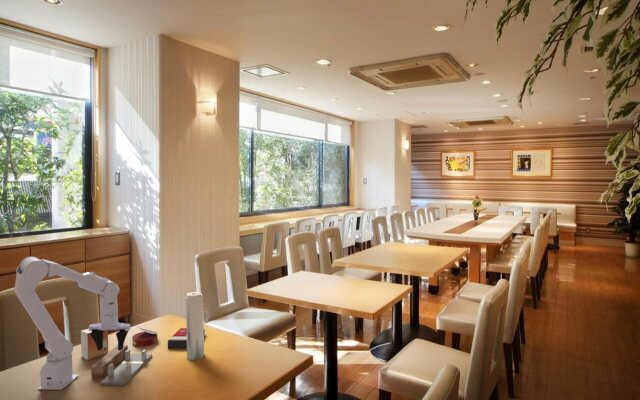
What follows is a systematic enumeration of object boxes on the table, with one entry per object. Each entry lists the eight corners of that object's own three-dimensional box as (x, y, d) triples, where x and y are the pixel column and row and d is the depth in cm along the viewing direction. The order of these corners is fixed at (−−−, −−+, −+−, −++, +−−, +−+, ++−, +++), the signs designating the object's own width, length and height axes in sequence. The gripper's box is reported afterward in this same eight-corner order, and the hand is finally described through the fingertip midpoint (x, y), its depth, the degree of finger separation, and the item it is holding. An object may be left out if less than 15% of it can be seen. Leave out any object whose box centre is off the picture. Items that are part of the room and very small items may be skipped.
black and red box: (204, 327, 182) (194, 338, 167) (204, 336, 182) (194, 349, 167) (180, 327, 182) (167, 338, 167) (180, 336, 182) (167, 349, 167)
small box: (87, 360, 157) (86, 333, 156) (81, 356, 160) (80, 330, 159) (109, 353, 163) (108, 327, 162) (102, 350, 166) (101, 324, 166)
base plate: (124, 385, 138) (123, 372, 138) (100, 385, 138) (100, 372, 138) (152, 356, 160) (151, 345, 160) (131, 356, 160) (131, 345, 160)
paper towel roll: (199, 361, 156) (197, 296, 155) (183, 359, 157) (182, 295, 156) (207, 354, 162) (206, 291, 161) (192, 352, 164) (190, 290, 162)
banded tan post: (103, 378, 143) (102, 366, 143) (91, 378, 143) (91, 366, 143) (128, 355, 161) (127, 345, 161) (117, 355, 161) (117, 345, 161)
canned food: (136, 350, 177) (137, 326, 181) (160, 347, 178) (161, 323, 182) (126, 348, 166) (127, 323, 170) (152, 344, 167) (152, 319, 171)
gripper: (133, 309, 155) (135, 344, 156) (95, 309, 155) (97, 344, 156) (124, 316, 148) (125, 352, 149) (84, 316, 148) (86, 352, 149)
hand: (110, 349), depth 152 cm, fingers open, 7 cm apart
